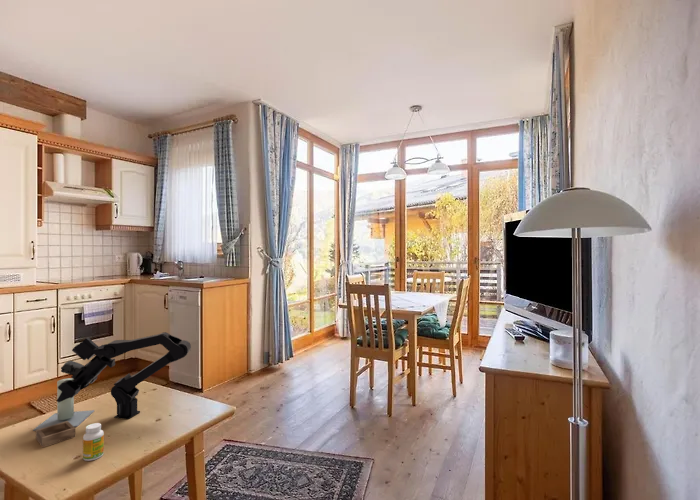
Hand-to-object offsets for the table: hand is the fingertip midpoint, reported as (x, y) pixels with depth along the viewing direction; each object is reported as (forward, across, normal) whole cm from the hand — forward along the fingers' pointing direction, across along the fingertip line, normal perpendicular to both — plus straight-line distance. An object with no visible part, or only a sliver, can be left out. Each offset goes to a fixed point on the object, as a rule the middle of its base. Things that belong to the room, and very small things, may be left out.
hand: (61, 398), depth 143 cm
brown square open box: (+2, +14, +10) cm, 18 cm away
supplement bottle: (-10, +30, +23) cm, 39 cm away
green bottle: (+4, 0, +6) cm, 7 cm away
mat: (+5, 0, +7) cm, 8 cm away
